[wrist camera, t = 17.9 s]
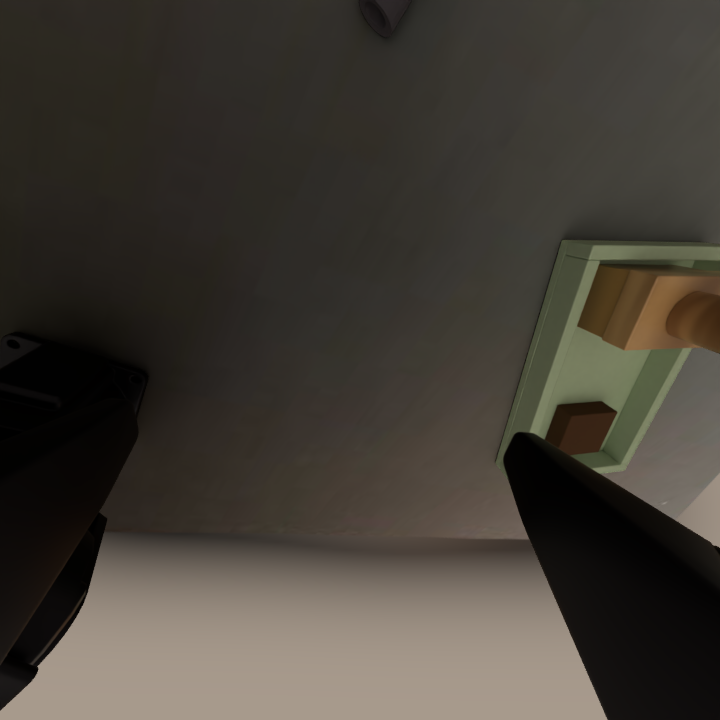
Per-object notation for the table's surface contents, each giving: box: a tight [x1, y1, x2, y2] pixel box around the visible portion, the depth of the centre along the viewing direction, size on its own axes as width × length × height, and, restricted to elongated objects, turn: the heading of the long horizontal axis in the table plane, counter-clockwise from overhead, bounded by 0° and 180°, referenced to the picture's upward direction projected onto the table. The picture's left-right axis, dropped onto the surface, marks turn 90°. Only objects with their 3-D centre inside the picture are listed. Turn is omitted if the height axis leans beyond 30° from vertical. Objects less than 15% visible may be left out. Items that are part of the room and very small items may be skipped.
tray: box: [496, 240, 720, 481], centre depth 23 cm, size 18×11×2 cm, turn 178°
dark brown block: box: [545, 401, 618, 455], centre depth 25 cm, size 4×4×2 cm
